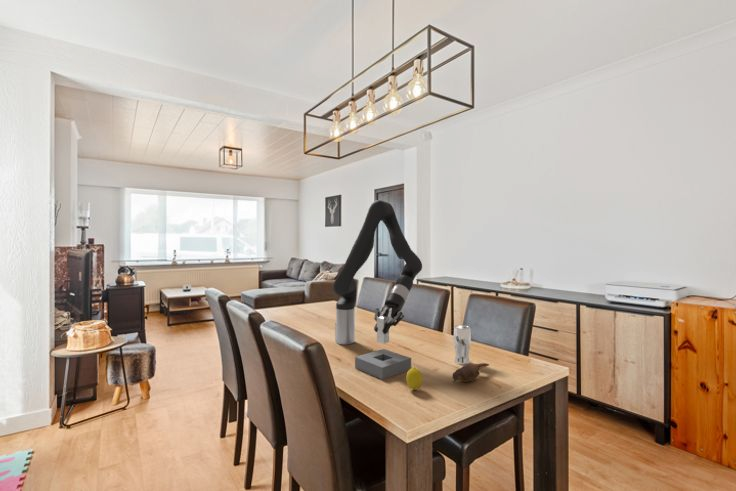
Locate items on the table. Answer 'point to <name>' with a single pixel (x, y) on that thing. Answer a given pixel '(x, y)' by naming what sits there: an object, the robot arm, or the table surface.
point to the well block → (383, 363)
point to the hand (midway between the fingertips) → (379, 331)
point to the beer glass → (462, 344)
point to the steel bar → (380, 325)
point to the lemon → (414, 378)
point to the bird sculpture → (468, 372)
